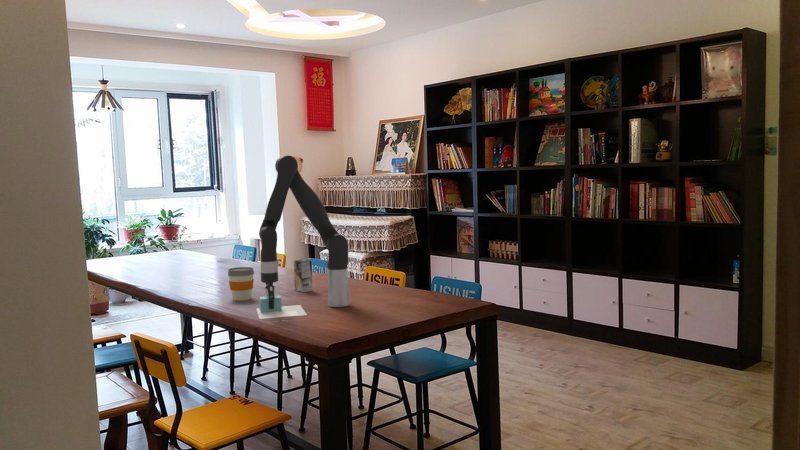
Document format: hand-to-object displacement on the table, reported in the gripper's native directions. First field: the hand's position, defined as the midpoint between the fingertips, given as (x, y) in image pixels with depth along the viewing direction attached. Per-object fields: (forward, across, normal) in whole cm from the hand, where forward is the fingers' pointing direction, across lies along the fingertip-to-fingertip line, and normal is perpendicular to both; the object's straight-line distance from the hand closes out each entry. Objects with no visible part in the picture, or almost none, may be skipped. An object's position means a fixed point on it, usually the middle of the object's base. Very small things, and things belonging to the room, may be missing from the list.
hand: (270, 307), depth 272 cm
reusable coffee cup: (+2, +37, +11) cm, 39 cm away
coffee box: (+2, +47, -21) cm, 52 cm away
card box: (+2, 0, 0) cm, 2 cm away
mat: (+2, -4, -4) cm, 6 cm away
